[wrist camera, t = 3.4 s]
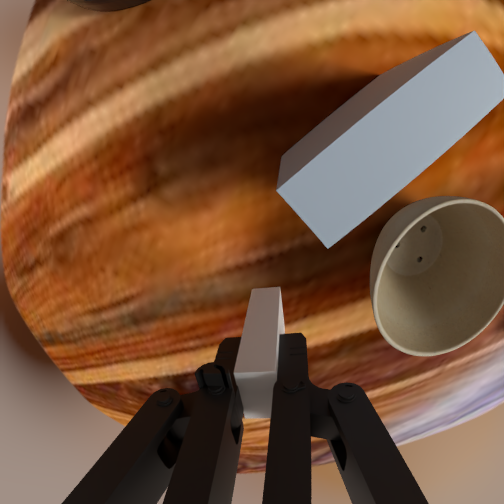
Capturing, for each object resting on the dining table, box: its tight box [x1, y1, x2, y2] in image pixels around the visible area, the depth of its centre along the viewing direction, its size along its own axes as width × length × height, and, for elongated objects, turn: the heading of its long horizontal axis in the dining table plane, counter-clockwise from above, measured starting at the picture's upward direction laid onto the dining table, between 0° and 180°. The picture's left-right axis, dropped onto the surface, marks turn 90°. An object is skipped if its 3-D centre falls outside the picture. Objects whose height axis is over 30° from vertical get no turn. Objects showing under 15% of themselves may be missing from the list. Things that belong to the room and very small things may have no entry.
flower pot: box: [370, 196, 504, 356], centre depth 18 cm, size 10×10×7 cm
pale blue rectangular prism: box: [276, 31, 504, 249], centre depth 13 cm, size 2×9×12 cm, turn 133°
